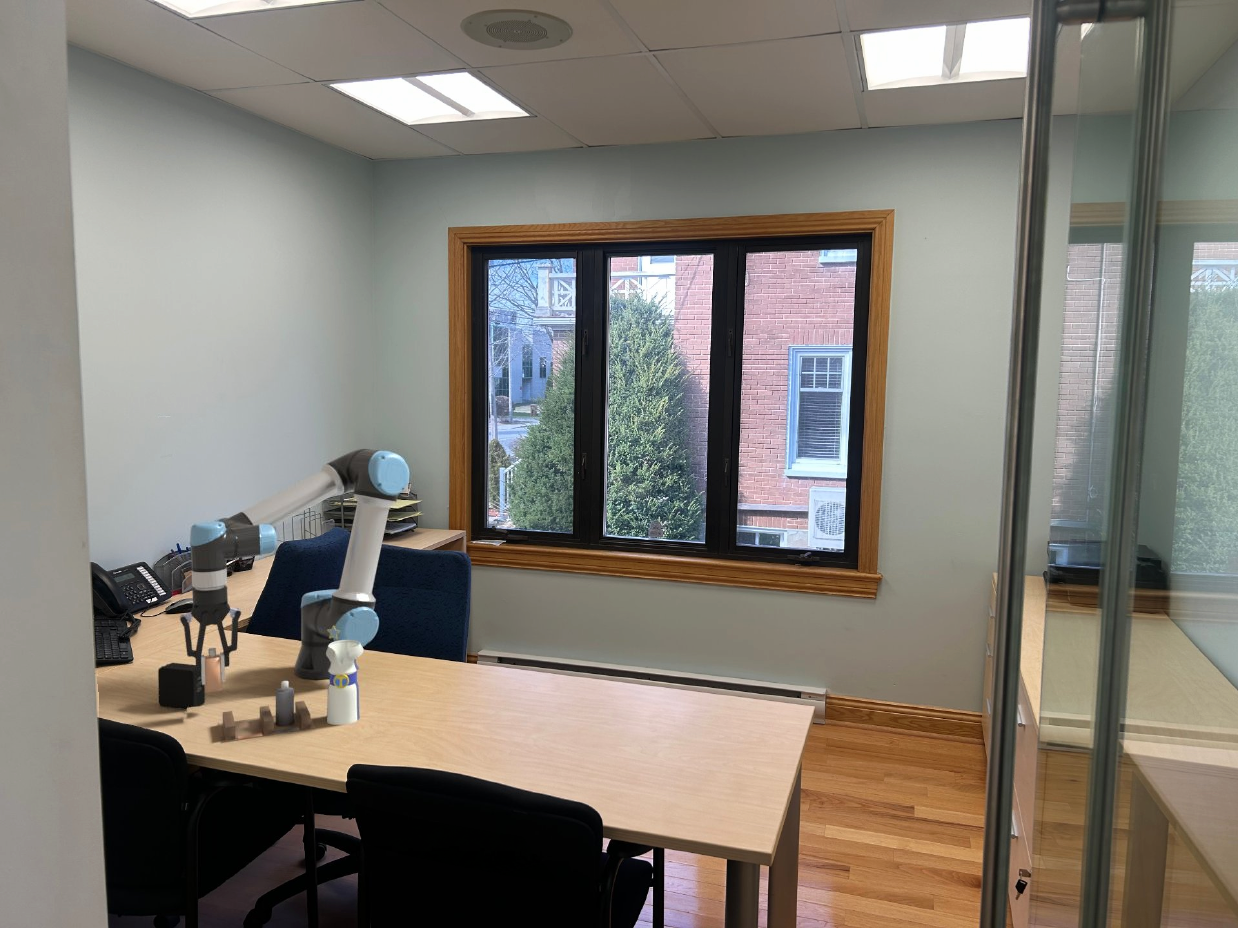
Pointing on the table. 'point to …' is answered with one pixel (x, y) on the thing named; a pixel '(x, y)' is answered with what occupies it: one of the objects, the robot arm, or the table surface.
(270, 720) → the rack
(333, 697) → the white costume bottle
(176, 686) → the electronic device
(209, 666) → the peach bottle
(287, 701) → the grey bottle
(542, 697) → the table surface
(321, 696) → the table surface
